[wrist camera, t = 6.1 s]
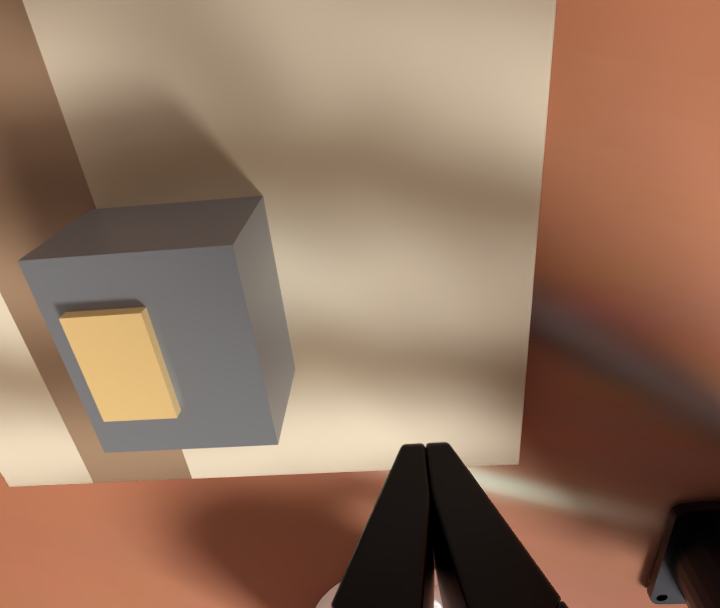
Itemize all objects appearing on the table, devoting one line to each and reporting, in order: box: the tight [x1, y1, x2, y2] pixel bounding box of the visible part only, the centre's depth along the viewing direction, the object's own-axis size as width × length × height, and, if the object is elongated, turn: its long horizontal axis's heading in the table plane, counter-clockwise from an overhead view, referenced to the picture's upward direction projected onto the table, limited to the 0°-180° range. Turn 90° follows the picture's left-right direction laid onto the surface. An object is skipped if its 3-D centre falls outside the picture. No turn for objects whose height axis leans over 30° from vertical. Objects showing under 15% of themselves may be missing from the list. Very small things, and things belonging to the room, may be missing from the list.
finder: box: [18, 196, 295, 453], centre depth 14 cm, size 6×5×4 cm
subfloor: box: [0, 0, 556, 487], centre depth 15 cm, size 22×20×1 cm
